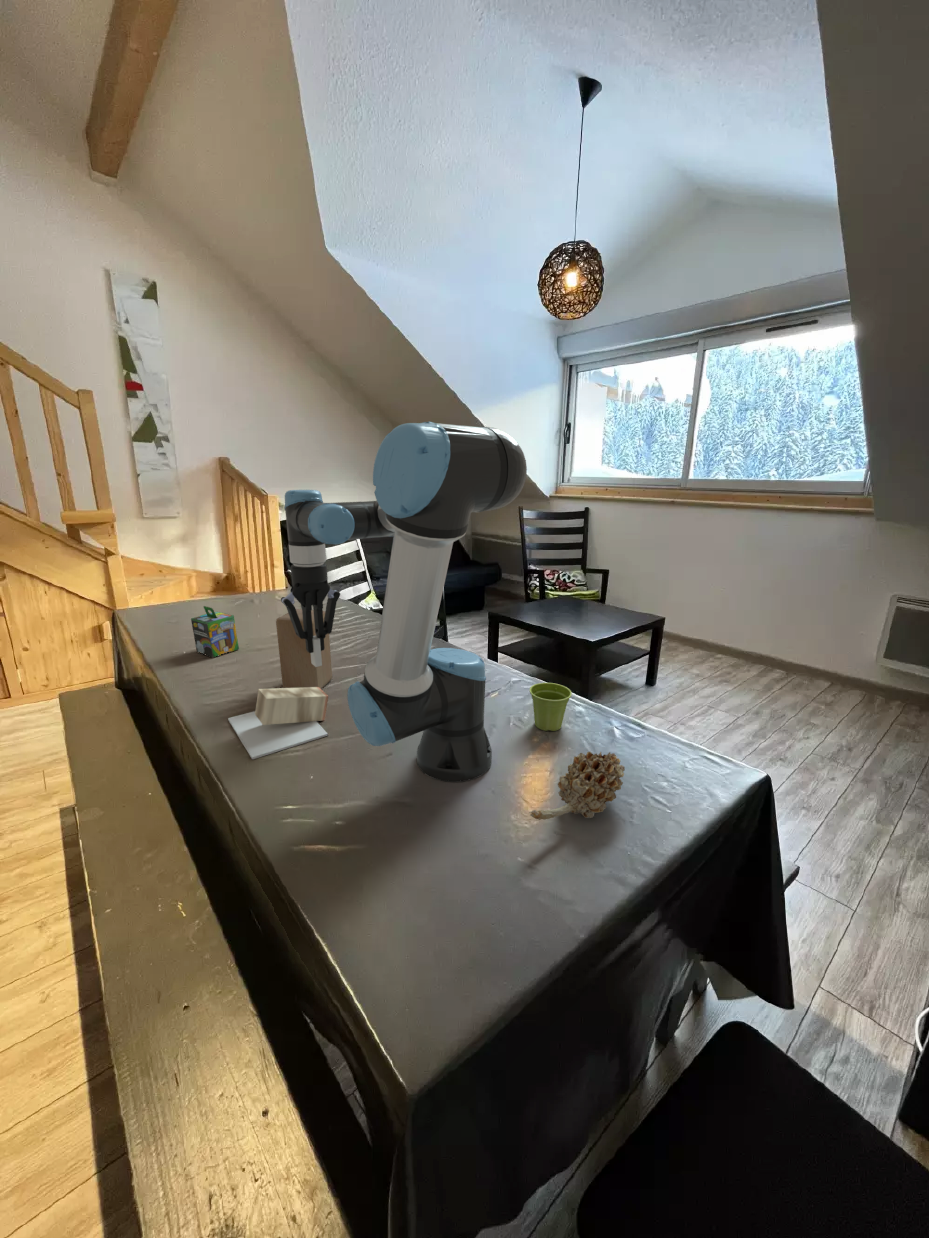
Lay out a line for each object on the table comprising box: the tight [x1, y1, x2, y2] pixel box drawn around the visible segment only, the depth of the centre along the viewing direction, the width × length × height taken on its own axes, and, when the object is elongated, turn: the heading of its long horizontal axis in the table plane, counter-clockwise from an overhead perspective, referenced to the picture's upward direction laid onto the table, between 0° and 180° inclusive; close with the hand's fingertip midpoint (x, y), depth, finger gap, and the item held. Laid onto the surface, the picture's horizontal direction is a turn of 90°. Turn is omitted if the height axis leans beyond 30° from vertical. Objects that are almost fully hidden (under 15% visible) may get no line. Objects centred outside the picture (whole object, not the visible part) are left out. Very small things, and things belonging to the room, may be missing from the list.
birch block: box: [254, 687, 329, 725], centre depth 115 cm, size 6×6×14 cm
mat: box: [227, 710, 329, 760], centre depth 114 cm, size 20×16×1 cm
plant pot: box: [529, 682, 573, 732], centre depth 116 cm, size 9×9×9 cm
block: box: [275, 608, 333, 690], centre depth 133 cm, size 10×10×20 cm
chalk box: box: [190, 605, 240, 658], centre depth 157 cm, size 9×9×15 cm
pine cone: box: [528, 751, 626, 821], centre depth 85 cm, size 22×10×10 cm, turn 135°
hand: (316, 664), depth 116 cm, fingers closed
